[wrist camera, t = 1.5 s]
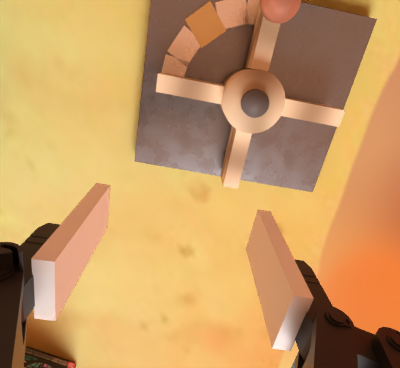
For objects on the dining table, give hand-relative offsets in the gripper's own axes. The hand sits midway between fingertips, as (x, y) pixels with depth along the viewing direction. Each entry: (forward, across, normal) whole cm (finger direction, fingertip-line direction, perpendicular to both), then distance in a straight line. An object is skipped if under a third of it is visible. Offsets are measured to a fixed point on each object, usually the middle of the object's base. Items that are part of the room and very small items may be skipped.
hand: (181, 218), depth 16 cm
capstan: (+18, +5, +6) cm, 19 cm away
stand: (+19, +5, +6) cm, 21 cm away
